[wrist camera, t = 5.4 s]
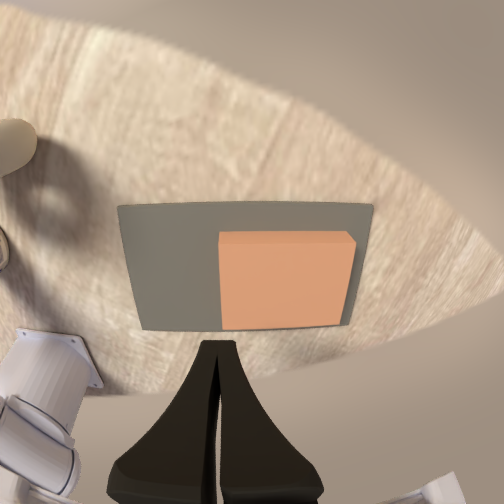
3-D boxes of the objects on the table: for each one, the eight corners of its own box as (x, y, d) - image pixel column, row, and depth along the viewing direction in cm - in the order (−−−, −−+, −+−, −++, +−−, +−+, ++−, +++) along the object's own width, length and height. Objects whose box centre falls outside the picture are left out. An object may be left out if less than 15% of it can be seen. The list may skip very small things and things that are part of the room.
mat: (143, 327, 24) (142, 330, 24) (118, 205, 19) (116, 207, 19) (346, 322, 25) (348, 325, 25) (371, 203, 20) (373, 205, 20)
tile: (222, 329, 22) (339, 324, 22) (218, 244, 18) (356, 242, 19) (223, 313, 23) (332, 308, 24) (219, 231, 20) (346, 231, 21)
